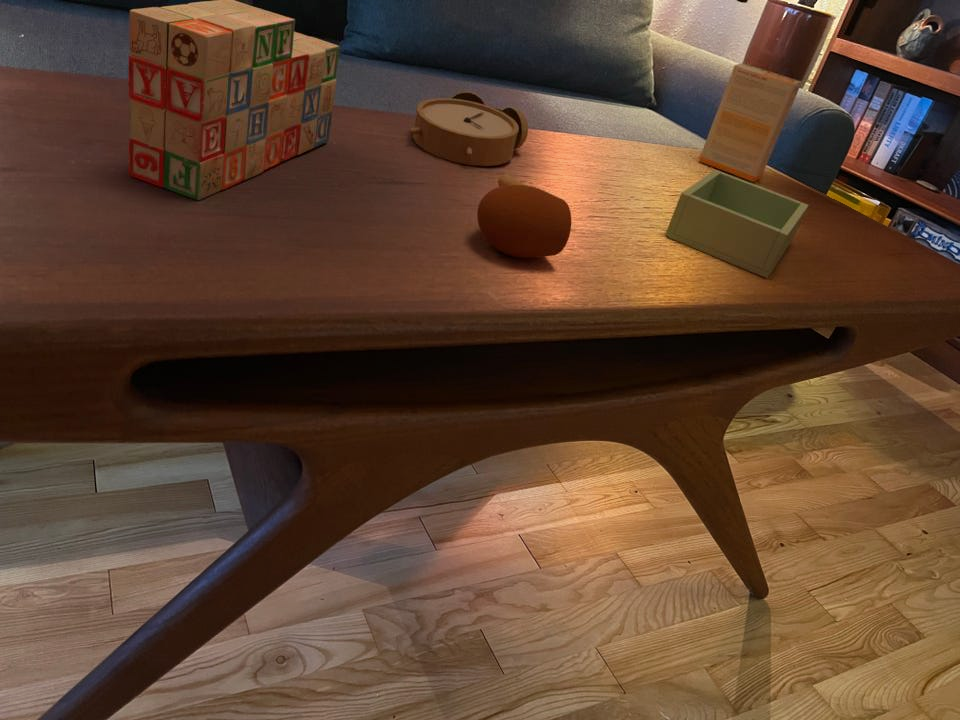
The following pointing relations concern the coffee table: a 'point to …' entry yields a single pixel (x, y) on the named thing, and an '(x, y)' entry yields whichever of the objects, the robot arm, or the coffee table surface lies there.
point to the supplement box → (749, 121)
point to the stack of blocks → (223, 94)
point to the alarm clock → (469, 130)
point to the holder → (736, 221)
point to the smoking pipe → (524, 219)
